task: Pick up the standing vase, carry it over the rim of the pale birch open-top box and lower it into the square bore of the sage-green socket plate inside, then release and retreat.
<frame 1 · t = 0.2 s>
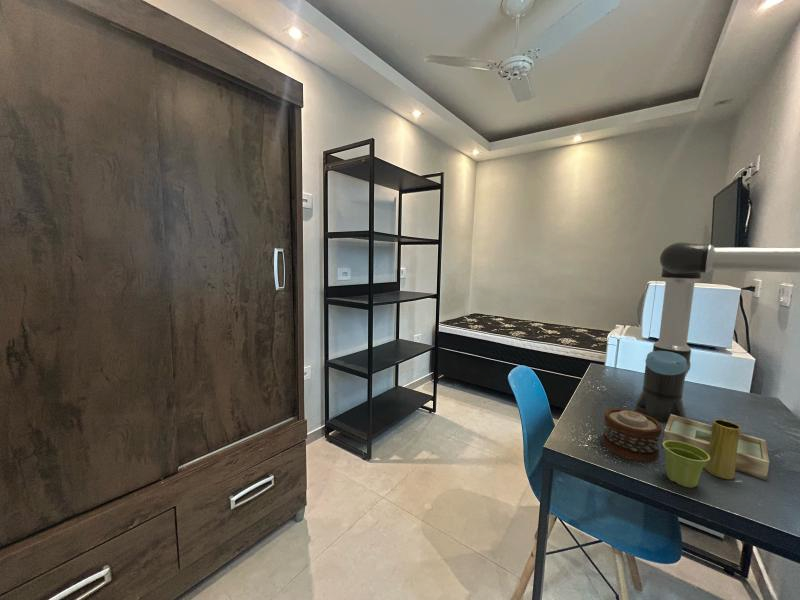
plant pot: (681, 480, 87), on the table
vase: (718, 473, 90), on the table
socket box: (711, 450, 101), on the table
spiked roller: (629, 448, 101), on the table
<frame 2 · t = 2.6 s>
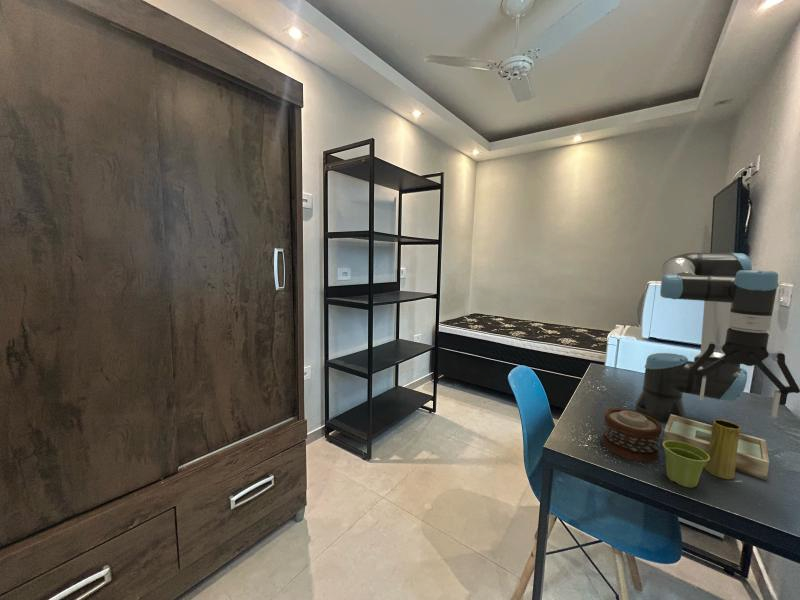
hand: (735, 407, 88), 19 cm above the table, fingers open, 13 cm apart
nothing on the table moved.
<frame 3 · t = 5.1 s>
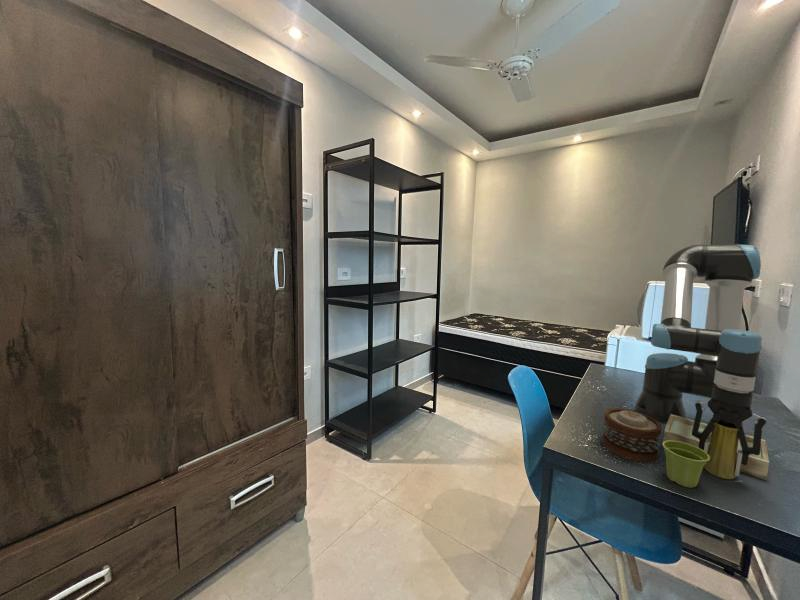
hand: (719, 467, 90), 1 cm above the table, fingers closed on vase, 6 cm apart
vase: (719, 473, 90), on the table, touching gripper
everything else where it was.
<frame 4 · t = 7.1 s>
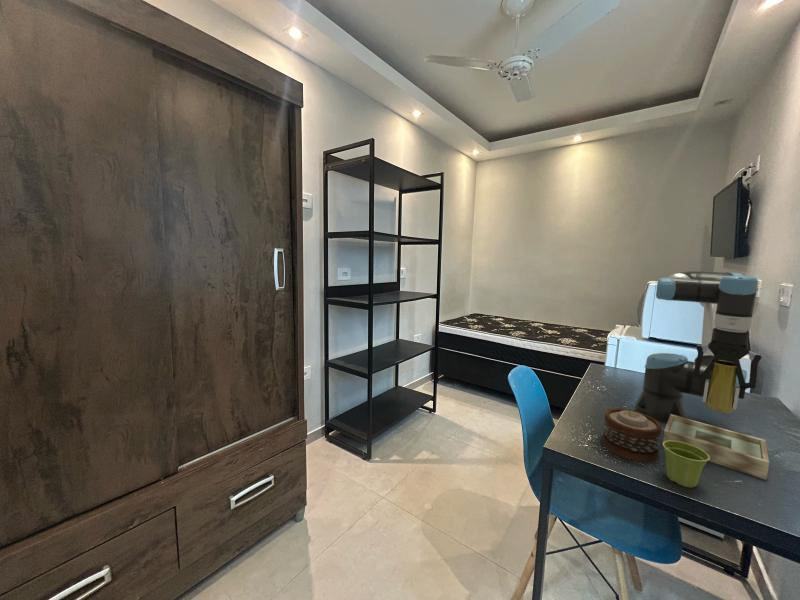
hand: (719, 403, 98), 15 cm above the table, fingers closed on vase, 6 cm apart
vase: (718, 408, 98), point 14 cm above the table, touching gripper
everything else where it was.
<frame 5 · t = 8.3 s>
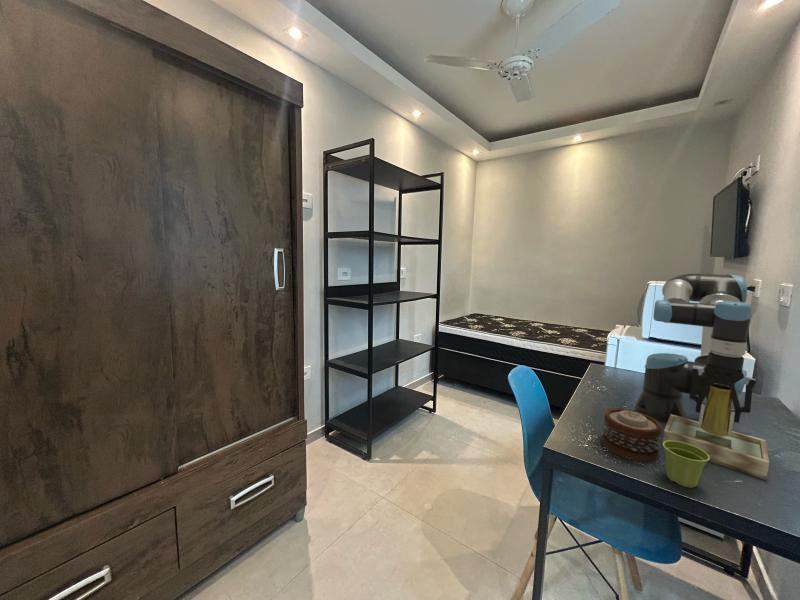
hand: (714, 426, 100), 8 cm above the table, fingers closed on vase, 6 cm apart
vase: (714, 431, 100), point 6 cm above the table, touching gripper
everything else where it was.
when the fingers open (4 cm above the table, at t = 9.4 s): vase drops 2 cm, resting on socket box.
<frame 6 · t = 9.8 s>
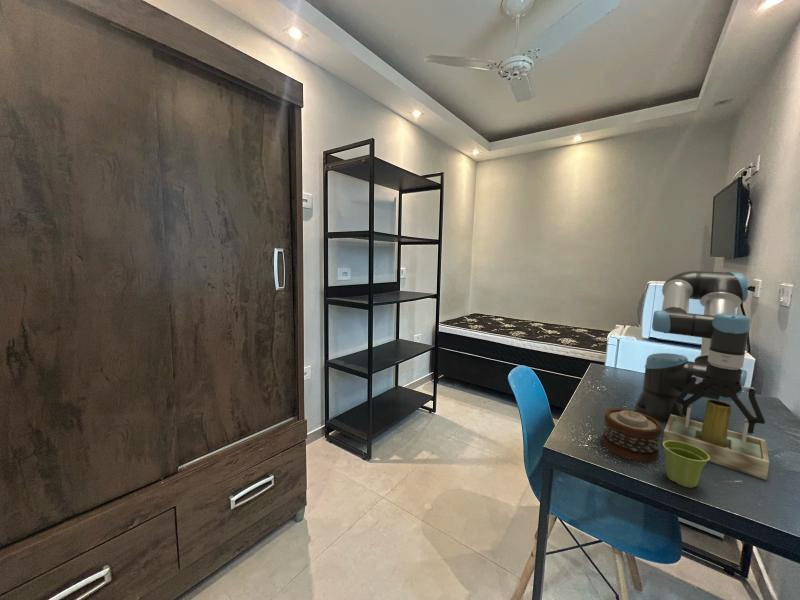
hand: (713, 433, 100), 6 cm above the table, fingers open, 12 cm apart
vase: (711, 447, 100), point 1 cm above the table, touching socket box
everything else where it was.
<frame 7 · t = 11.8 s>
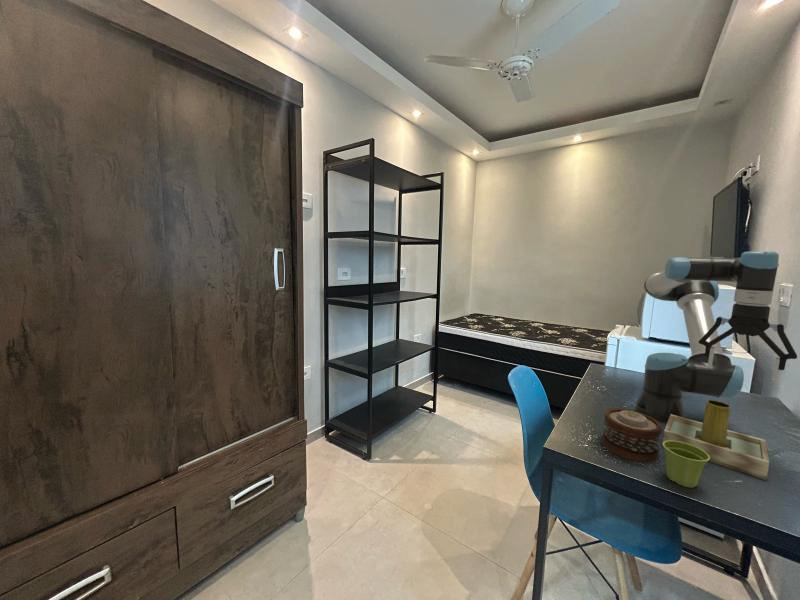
hand: (740, 373, 99), 24 cm above the table, fingers open, 13 cm apart
nothing on the table moved.
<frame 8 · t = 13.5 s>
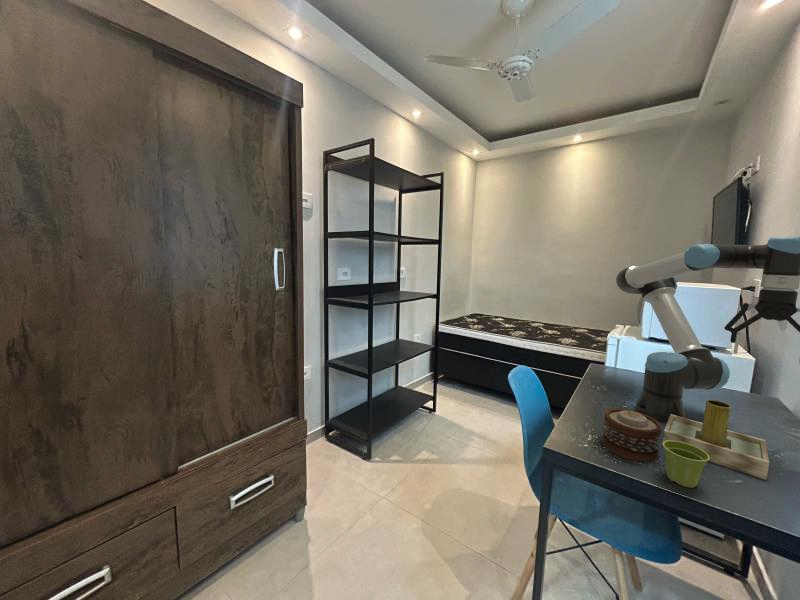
hand: (766, 358, 100), 29 cm above the table, fingers open, 13 cm apart
nothing on the table moved.
at the end: vase 0.0 cm from the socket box (horizontally); vase point 0.8 cm above the table; vase tilted 0° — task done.
